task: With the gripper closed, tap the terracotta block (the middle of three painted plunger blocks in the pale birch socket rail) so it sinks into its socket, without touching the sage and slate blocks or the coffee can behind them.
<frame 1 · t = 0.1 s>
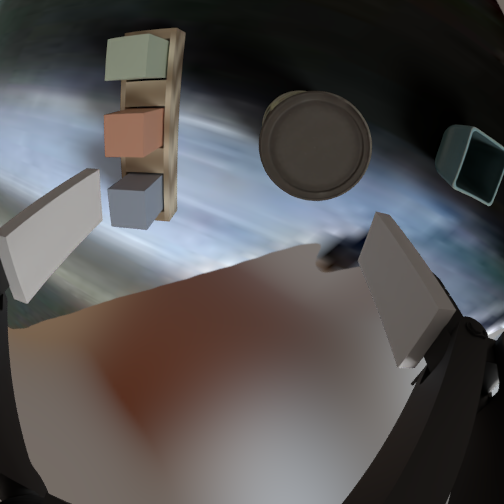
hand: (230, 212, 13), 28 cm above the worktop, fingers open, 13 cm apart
socket rail: (154, 123, 37), on the worktop
sage block: (138, 58, 26), point 6 cm above the worktop, slide at 0.0 cm
terracotta block: (135, 130, 31), point 6 cm above the worktop, slide at 0.0 cm
flower pot: (450, 151, 36), on the worktop
slate block: (137, 198, 36), point 6 cm above the worktop, slide at 0.0 cm
coffee can: (300, 127, 36), on the worktop
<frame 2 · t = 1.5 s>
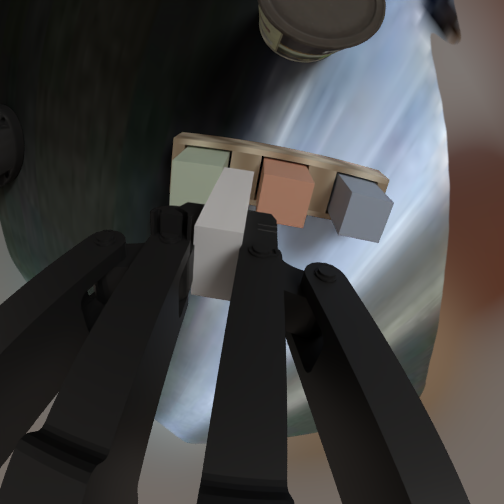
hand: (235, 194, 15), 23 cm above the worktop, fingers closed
socket rail: (279, 172, 37), on the worktop
sage block: (201, 176, 31), point 6 cm above the worktop, slide at 0.0 cm
terracotta block: (282, 189, 32), point 6 cm above the worktop, slide at 0.0 cm
slate block: (357, 205, 32), point 6 cm above the worktop, slide at 0.0 cm
coffee can: (301, 25, 27), on the worktop
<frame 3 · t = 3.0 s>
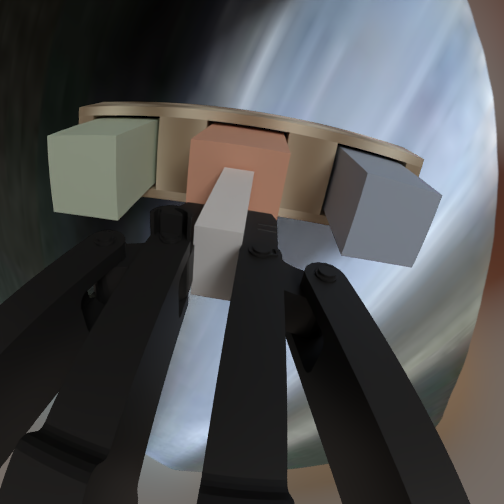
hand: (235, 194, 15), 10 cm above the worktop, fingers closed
socket rail: (246, 152, 23), on the worktop
sage block: (107, 160, 17), point 7 cm above the worktop, slide at 0.0 cm
terracotta block: (239, 172, 18), point 6 cm above the worktop, slide at 0.4 cm, touching gripper
slate block: (374, 201, 18), point 7 cm above the worktop, slide at 0.0 cm
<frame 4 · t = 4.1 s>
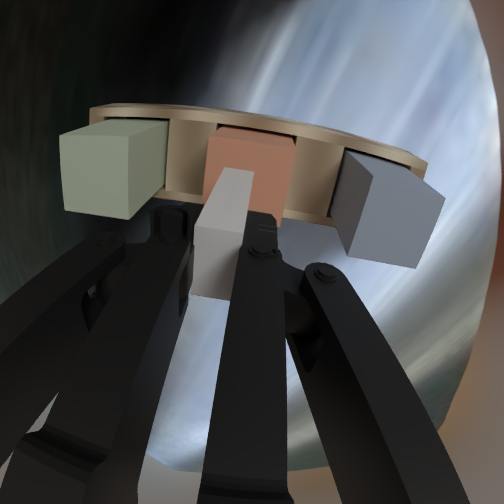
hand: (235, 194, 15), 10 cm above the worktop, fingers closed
socket rail: (254, 154, 24), on the worktop
sage block: (118, 160, 18), point 6 cm above the worktop, slide at 0.0 cm
terracotta block: (250, 167, 20), point 4 cm above the worktop, slide at 2.2 cm
slate block: (380, 203, 18), point 7 cm above the worktop, slide at 0.0 cm
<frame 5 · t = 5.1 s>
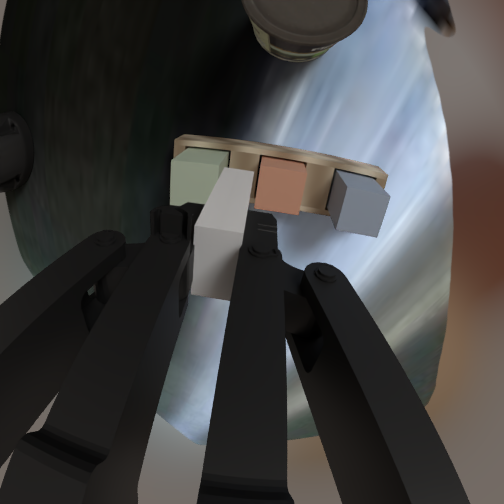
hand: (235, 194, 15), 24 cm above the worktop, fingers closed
socket rail: (279, 171, 38), on the worktop
sage block: (201, 175, 32), point 7 cm above the worktop, slide at 0.0 cm
terracotta block: (279, 181, 34), point 4 cm above the worktop, slide at 2.2 cm
slate block: (355, 201, 33), point 7 cm above the worktop, slide at 0.0 cm
coffee can: (294, 26, 28), on the worktop
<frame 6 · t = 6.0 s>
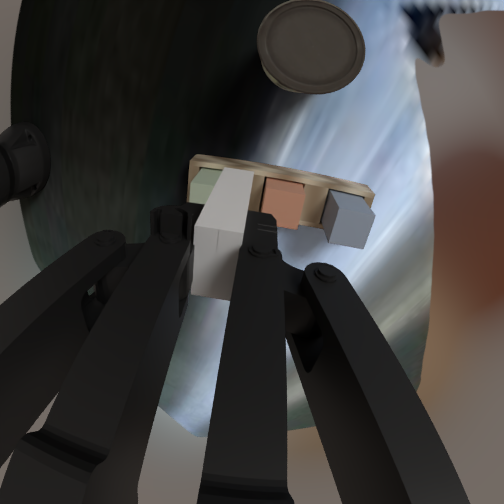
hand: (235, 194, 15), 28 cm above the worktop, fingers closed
socket rail: (280, 188, 44), on the worktop
sage block: (214, 194, 38), point 7 cm above the worktop, slide at 0.0 cm
terracotta block: (281, 199, 40), point 4 cm above the worktop, slide at 2.2 cm
slate block: (346, 217, 39), point 7 cm above the worktop, slide at 0.0 cm
coffee can: (298, 58, 34), on the worktop
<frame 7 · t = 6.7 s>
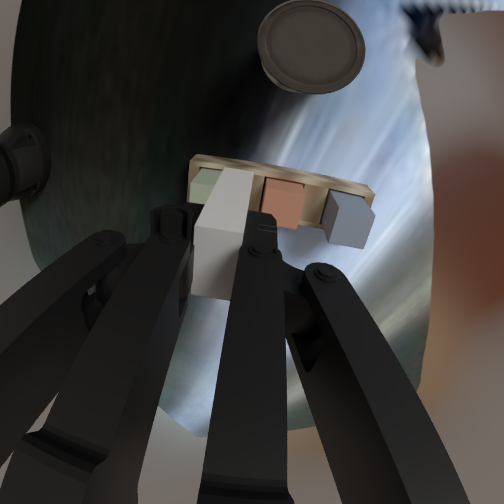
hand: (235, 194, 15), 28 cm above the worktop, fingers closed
socket rail: (280, 188, 44), on the worktop
sage block: (214, 194, 38), point 6 cm above the worktop, slide at 0.0 cm
terracotta block: (281, 199, 40), point 4 cm above the worktop, slide at 2.2 cm
slate block: (346, 217, 39), point 6 cm above the worktop, slide at 0.0 cm
coffee can: (298, 58, 34), on the worktop
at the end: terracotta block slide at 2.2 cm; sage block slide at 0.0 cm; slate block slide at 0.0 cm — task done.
